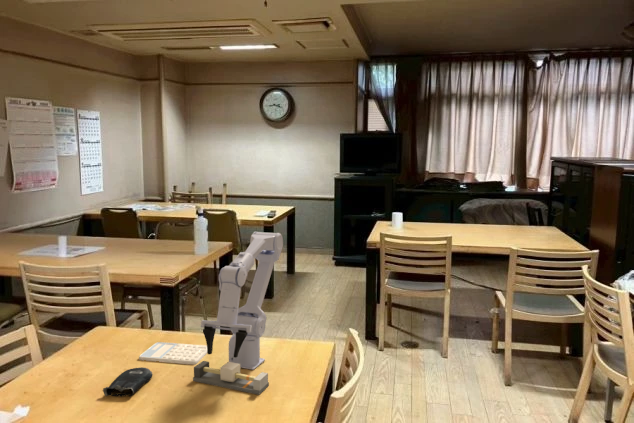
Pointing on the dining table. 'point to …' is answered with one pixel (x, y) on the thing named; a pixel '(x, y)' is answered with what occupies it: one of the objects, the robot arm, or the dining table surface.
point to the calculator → (174, 353)
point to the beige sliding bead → (229, 371)
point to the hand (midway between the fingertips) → (222, 355)
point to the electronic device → (129, 381)
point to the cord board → (241, 383)
